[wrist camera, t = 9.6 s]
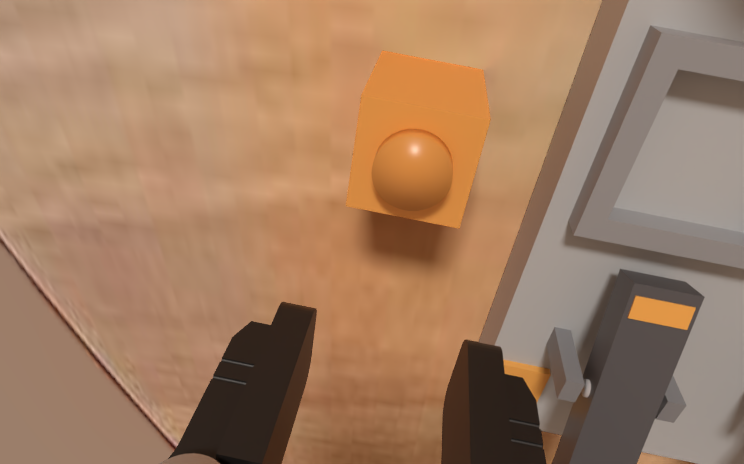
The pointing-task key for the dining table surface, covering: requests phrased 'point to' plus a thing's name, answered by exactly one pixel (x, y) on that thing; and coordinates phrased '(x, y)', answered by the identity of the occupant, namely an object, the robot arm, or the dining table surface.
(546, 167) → the breaker panel
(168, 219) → the dining table surface
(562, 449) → the breaker
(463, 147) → the cap
